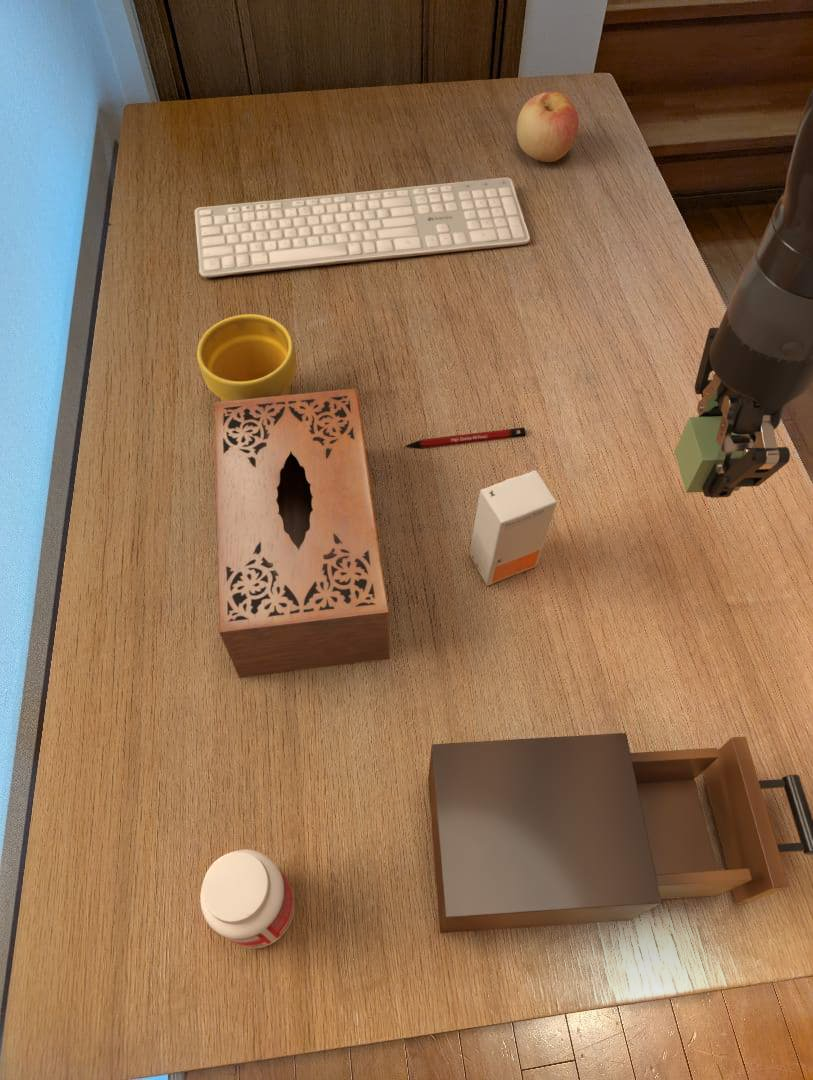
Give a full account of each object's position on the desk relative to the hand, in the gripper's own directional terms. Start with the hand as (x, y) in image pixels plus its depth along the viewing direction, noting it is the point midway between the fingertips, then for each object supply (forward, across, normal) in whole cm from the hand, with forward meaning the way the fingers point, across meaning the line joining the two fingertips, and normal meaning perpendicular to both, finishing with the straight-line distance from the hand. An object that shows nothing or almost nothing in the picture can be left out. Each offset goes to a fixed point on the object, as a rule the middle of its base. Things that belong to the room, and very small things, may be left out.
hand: (707, 468), depth 70 cm
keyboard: (+17, +54, +29) cm, 63 cm away
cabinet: (+17, -27, +17) cm, 36 cm away
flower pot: (+17, +23, +42) cm, 51 cm away
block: (0, 0, 0) cm, 0 cm away
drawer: (+16, -27, +4) cm, 31 cm away
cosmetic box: (+17, +1, +16) cm, 23 cm away
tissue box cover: (+17, +3, +36) cm, 40 cm away
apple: (+17, +71, +2) cm, 73 cm away
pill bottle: (+17, -30, +40) cm, 53 cm away
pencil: (+17, +18, +18) cm, 31 cm away
